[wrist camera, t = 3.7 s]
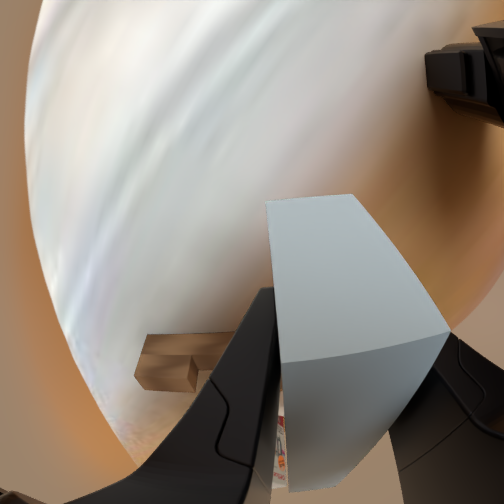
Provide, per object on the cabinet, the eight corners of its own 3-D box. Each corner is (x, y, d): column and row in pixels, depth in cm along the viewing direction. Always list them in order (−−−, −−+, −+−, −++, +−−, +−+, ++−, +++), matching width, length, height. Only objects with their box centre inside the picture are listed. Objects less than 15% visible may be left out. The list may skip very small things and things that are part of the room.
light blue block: (352, 194, 7) (451, 330, 3) (324, 411, 14) (335, 486, 10) (265, 201, 7) (281, 363, 3) (284, 415, 14) (289, 492, 10)
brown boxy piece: (293, 326, 24) (300, 372, 20) (294, 343, 25) (299, 387, 21) (147, 334, 25) (133, 375, 21) (155, 349, 26) (144, 389, 22)
